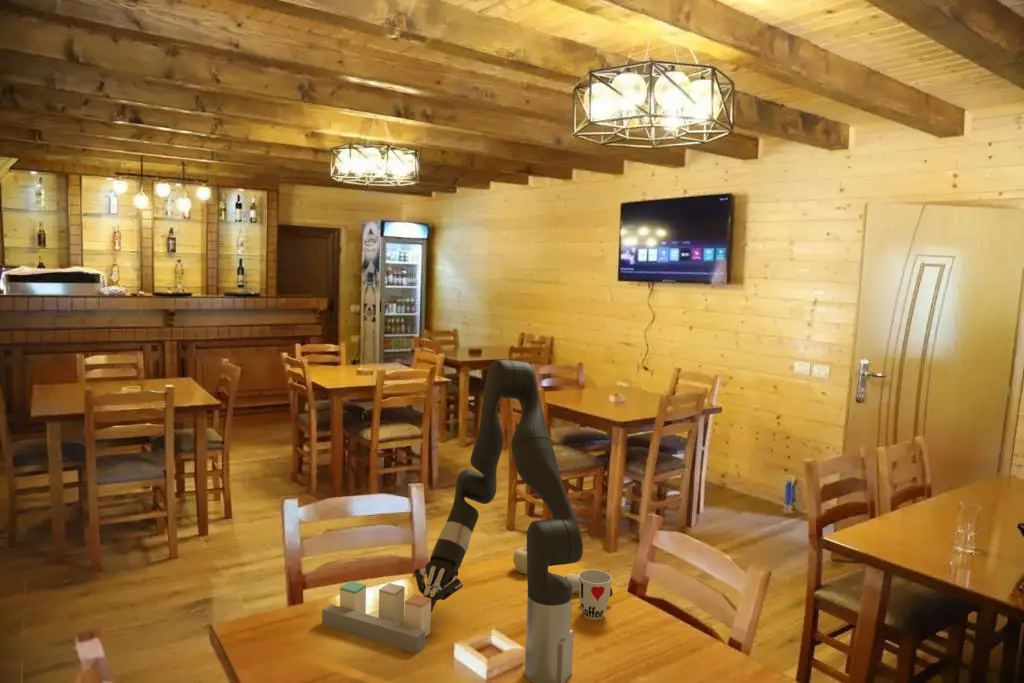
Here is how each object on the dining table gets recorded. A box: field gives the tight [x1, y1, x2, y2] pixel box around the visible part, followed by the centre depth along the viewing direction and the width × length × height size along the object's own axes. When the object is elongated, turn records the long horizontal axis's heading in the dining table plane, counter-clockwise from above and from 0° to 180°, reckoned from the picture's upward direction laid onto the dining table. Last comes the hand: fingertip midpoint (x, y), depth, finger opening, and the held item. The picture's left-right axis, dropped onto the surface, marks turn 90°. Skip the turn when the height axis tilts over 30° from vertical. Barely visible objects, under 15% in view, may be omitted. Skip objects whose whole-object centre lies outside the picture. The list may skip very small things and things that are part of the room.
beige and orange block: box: [404, 593, 432, 638], centre depth 160 cm, size 4×4×8 cm
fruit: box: [512, 546, 527, 575], centre depth 199 cm, size 8×7×8 cm
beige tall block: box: [378, 582, 406, 624], centre depth 166 cm, size 4×4×8 cm
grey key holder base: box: [321, 603, 426, 655], centre depth 165 cm, size 26×16×5 cm, turn 65°
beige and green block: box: [339, 580, 367, 614], centre depth 166 cm, size 4×4×8 cm
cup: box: [578, 569, 612, 621], centre depth 175 cm, size 8×8×10 cm
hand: (423, 614), depth 163 cm, fingers closed
